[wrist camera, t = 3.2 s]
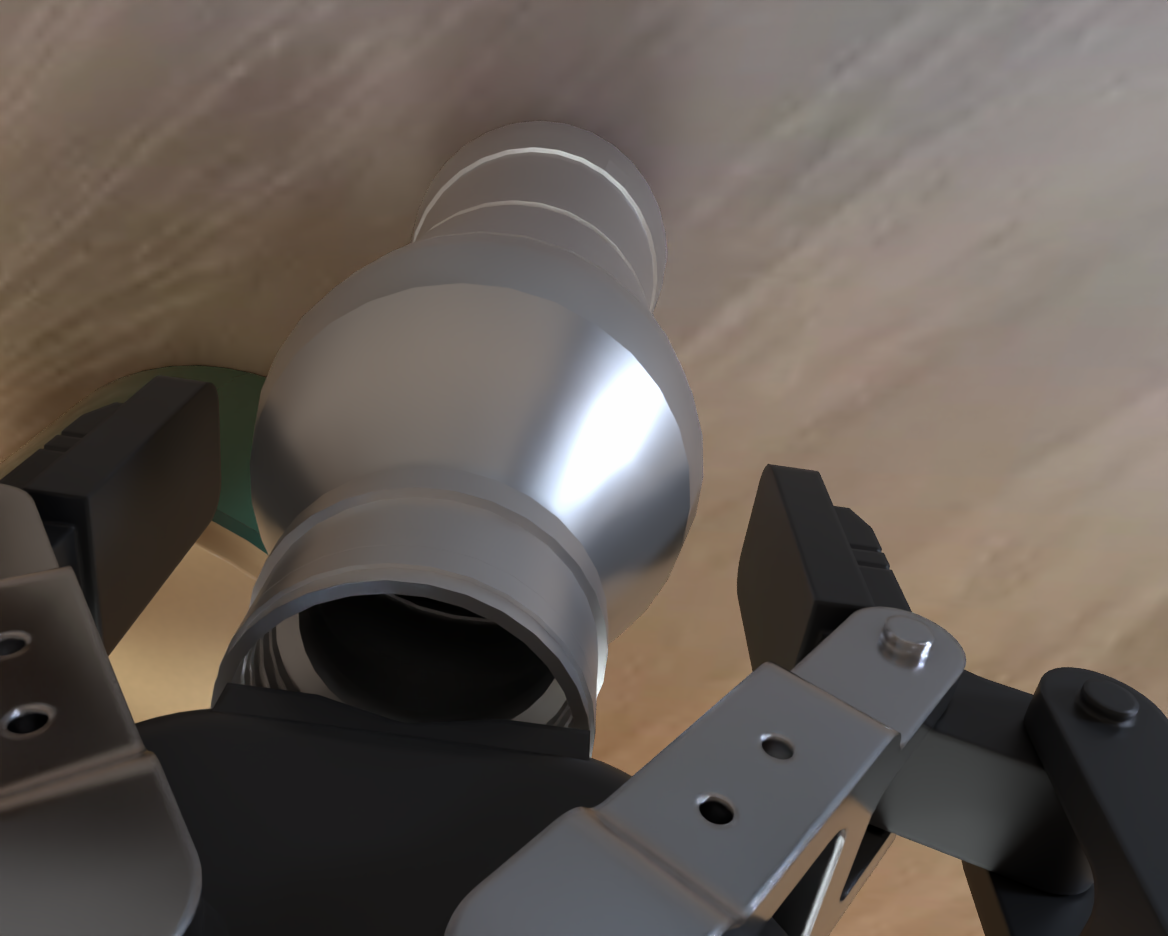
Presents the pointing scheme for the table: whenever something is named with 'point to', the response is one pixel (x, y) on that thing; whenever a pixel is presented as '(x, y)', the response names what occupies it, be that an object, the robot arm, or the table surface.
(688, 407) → the silver metal bottle
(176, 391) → the robot arm
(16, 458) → the crock
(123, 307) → the table surface
